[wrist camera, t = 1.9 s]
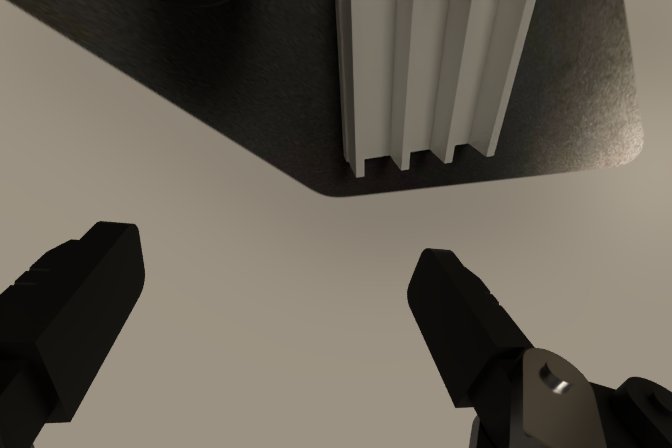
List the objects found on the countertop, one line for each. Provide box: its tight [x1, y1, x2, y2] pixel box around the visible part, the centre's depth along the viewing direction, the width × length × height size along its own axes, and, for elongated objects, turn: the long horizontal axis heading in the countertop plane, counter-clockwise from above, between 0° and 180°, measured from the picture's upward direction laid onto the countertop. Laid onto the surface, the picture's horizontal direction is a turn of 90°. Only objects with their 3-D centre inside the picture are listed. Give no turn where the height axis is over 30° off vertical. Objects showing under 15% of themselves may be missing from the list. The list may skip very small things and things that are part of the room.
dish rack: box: [335, 0, 536, 177], centre depth 28 cm, size 16×15×5 cm
